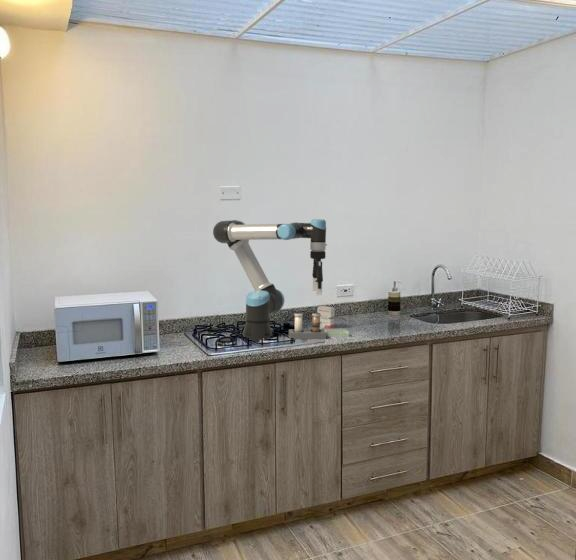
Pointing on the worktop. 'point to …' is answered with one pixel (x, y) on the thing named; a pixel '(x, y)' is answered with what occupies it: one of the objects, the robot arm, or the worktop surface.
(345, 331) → the parts tray
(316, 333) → the fuse block
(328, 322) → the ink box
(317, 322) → the fuse
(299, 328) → the cylinder
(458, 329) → the worktop surface
